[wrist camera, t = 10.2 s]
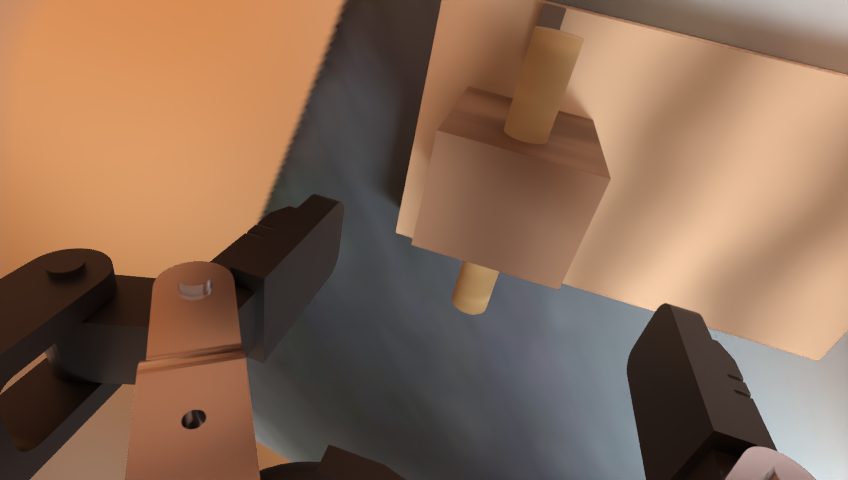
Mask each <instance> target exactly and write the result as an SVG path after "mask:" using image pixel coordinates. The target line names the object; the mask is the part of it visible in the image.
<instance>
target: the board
mask: <svg viewBox="0 0 848 480" xmlns="http://www.w3.org/2000/svg"><path fill="white" fill-rule="evenodd" d="M535 26H541V27H547V28H552V29H556V30H560V31H564V32H567V33H571V34H574V35H577V36H579V37H582V38H584V42H583V45H582V47H581V50H580V53H579V56H578V58H577V61H576V64H575V66H574V69H573V72H572V75H571V77H570V80H569V83H568V86H567V88H566V91H565V94H564V97H563V99H562V102H561V105H560V107H559V110H558V111H562V112H566V113H569V114H573V115H577V116H581V117H584V118H588V119H592V120H593V121H594V125H595V128H596V131H597V135H598V138H599V141H600V144H601V148H602V151H603V154H604V158H605V161H606V164H607V167H608V171H609V174H610V177H611V180H610V182H609V184H608V186H607V189H606V191H605V193H604V195H603V197H602V199H601V201H600V203H599V206H598V208H597V210H596V212H595V214H594V216H593V218H592V221H591V223H590V225H589V227H588V229H587V231H586V233H585V235H584V238H583V240H582V242H581V244H580V246H579V248H578V250H577V253H576V255H575V257H574V259H573V261H572V263H571V265H570V267H569V270H568V272H567V274H566V276H565V278H564V280H563V282H562V283H563V284H566V285H569V286H573V287H576V288H579V289H583V290H586V291H589V292H593V293H596V294H599V295H602V296H606V297H609V298H612V299H616V300H619V301H622V302H625V303H629V304H632V305H635V306H639V307H642V308H645V309H648V310H652V311H655V312H656V310H657V309H658V308H659V306H661V305H662V304H664V303H668V304H671V305H674V306H678V307H681V308H684V309H687V310H691V311H694V312H697V313H699V314H701V316H702V317H703V319H704V322H705V324H706V326H707V327H708V328H711V329H714V330H718V331H721V332H724V333H727V334H731V335H734V336H737V337H741V338H744V339H747V340H751V341H754V342H757V343H760V344H764V345H767V346H770V347H774V348H777V349H780V350H783V351H787V352H790V353H793V354H797V355H800V356H803V357H806V358H810V359H813V360H816V361H819V360H820V359H821V358H822V357H823V356H824V355H825V354H826V353H827V352H828V351H829V350H830V349H831V348H832V347H833V346H834V345H835V343H836V342H837V341H838V340H839V339H840V338H841V337H842V336H843V335H844V334H845V333H846V332H847V331H848V75H847V74H843V73H839V72H835V71H831V70H827V69H823V68H819V67H815V66H811V65H807V64H803V63H799V62H795V61H791V60H787V59H783V58H778V57H774V56H770V55H766V54H762V53H758V52H754V51H750V50H746V49H742V48H738V47H734V46H730V45H726V44H722V43H718V42H714V41H709V40H705V39H701V38H697V37H693V36H689V35H685V34H681V33H677V32H673V31H669V30H665V29H661V28H657V27H653V26H649V25H645V24H640V23H636V22H632V21H628V20H624V19H620V18H616V17H612V16H608V15H604V14H600V13H596V12H592V11H588V10H584V9H580V8H575V7H571V6H567V5H563V4H559V3H555V2H551V1H547V0H442V1H441V6H440V11H439V16H438V21H437V27H436V32H435V37H434V42H433V47H432V52H431V57H430V62H429V67H428V72H427V77H426V82H425V87H424V92H423V97H422V102H421V107H420V112H419V117H418V123H417V128H416V133H415V138H414V143H413V148H412V153H411V158H410V163H409V168H408V173H407V178H406V183H405V188H404V193H403V198H402V203H401V208H400V214H399V219H398V224H397V229H396V233H398V234H402V235H405V236H408V237H411V238H413V235H414V231H415V226H416V222H417V218H418V213H419V209H420V204H421V200H422V195H423V191H424V186H425V182H426V177H427V173H428V169H429V164H430V160H431V155H432V151H433V146H434V142H435V137H436V133H437V130H438V128H439V127H440V125H441V124H442V123H443V121H444V120H445V118H446V117H447V116H448V114H449V113H450V111H451V110H452V109H453V107H454V106H455V104H456V103H457V102H458V100H459V99H460V97H461V96H462V95H463V93H464V92H465V90H466V89H467V88H468V86H469V87H473V88H476V89H480V90H484V91H488V92H491V93H495V94H499V95H502V96H506V97H510V98H513V97H514V93H515V90H516V87H517V84H518V80H519V77H520V74H521V71H522V67H523V64H524V61H525V57H526V54H527V51H528V48H529V44H530V41H531V38H532V35H533V31H534V28H535Z"/></svg>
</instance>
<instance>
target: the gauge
mask: <svg viewBox="0 0 848 480" xmlns="http://www.w3.org/2000/svg"><path fill="white" fill-rule="evenodd" d="M583 42H584V38H582V37H579V36H577V35H574V34H571V33H567V32H564V31H560V30H556V29H552V28H547V27H541V26H535V28H534V31H533V35H532V38H531V41H530V44H529V48H528V51H527V54H526V57H525V61H524V64H523V67H522V71H521V74H520V77H519V80H518V84H517V87H516V90H515V93H514V97H513V98H510V97H506V96H502V95H499V94H495V93H491V92H488V91H484V90H480V89H476V88H473V87H469V86H468V88H467V89H466V90H465V92H464V93H463V95H462V96H461V97H460V99H459V100H458V102H457V103H456V104H455V106H454V107H453V109H452V110H451V111H450V113H449V114H448V116H447V117H446V118H445V120H444V121H443V123H442V124H441V125H440V127H439V128H438V130H437V133H436V137H435V142H434V146H433V151H432V155H431V160H430V164H429V169H428V173H427V177H426V182H425V186H424V191H423V195H422V200H421V204H420V209H419V213H418V218H417V222H416V226H415V231H414V235H413V240H412V244H411V245H414V246H417V247H420V248H424V249H427V250H430V251H433V252H437V253H440V254H443V255H446V256H450V257H453V258H456V259H460V260H463V263H462V266H461V270H460V273H459V276H458V279H457V283H456V286H455V289H454V292H453V296H452V302H453V304H454V305H455V307H456V308H458V309H459V310H460V311H462V312H464V313H467V314H480V313H482V312H484V311H485V309H486V307H487V304H488V301H489V299H490V296H491V293H492V290H493V288H494V285H495V282H496V280H497V277H498V274H499V272H502V273H505V274H509V275H512V276H515V277H518V278H522V279H525V280H528V281H532V282H535V283H538V284H541V285H545V286H548V287H551V288H554V289H558V290H559V289H560V287H561V285H562V282H563V280H564V278H565V276H566V274H567V272H568V270H569V267H570V265H571V263H572V261H573V259H574V257H575V255H576V253H577V250H578V248H579V246H580V244H581V242H582V240H583V238H584V235H585V233H586V231H587V229H588V227H589V225H590V223H591V221H592V218H593V216H594V214H595V212H596V210H597V208H598V206H599V203H600V201H601V199H602V197H603V195H604V193H605V191H606V189H607V186H608V184H609V182H610V180H611V177H610V174H609V171H608V167H607V164H606V161H605V158H604V154H603V151H602V148H601V144H600V141H599V138H598V135H597V131H596V128H595V125H594V121H593V120H592V119H588V118H584V117H581V116H577V115H573V114H569V113H566V112H562V111H558V110H559V107H560V105H561V102H562V99H563V97H564V94H565V91H566V88H567V86H568V83H569V80H570V77H571V75H572V72H573V69H574V66H575V64H576V61H577V58H578V56H579V53H580V50H581V47H582V45H583Z"/></svg>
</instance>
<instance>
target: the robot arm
mask: <svg viewBox="0 0 848 480" xmlns="http://www.w3.org/2000/svg"><path fill="white" fill-rule="evenodd" d="M343 213H344V205H343V203H342V202H339V201H336V200H333V199H330V198H326V197H323V196H320V195H317V194H313V195H311V196H310V197H309V198H308V199H307V200H306V201H305V202H303V203H302V204H301V205H300V206H299V207H298V208H294V207H290V206H288V207H285V208H282V209H279V210H276V211H274V212H271V213H269V214H268V215H267V216H266V217H265V218H263V219H262V220H261V221H260V222H258V225H255V226H254V227H252V228H251V229H250V230H249V231H248V232H247V234H246V233H245V234H244V235H242V236H241V237H240V238H239V239H238V240H236V241H235V242H234V243H233V244H231V245H230V246H229V247H228V248H227V249H225V250H224V251H223V252H222V253H220V254H219V255H218V256H217V257H215V258H214V259H213V260H212V261H210V262H203V261H197V262H196V261H194V262H187V263H182V264H179V265H175V266H173V267H171V268H169V269H167V270H165V271H164V272H162V273H161V274H160V275H159V276H158V277H157V278H145V277H135V276H124V275H115V274H114V269H113V264H112V261H111V259H110V258H109V257H108V256H107V255H106V254H104V253H102V252H99V251H96V250H92V249H66V250H59V251H55V252H52V253H48V254H45V255H42V256H40V257H38V258H36V259H34V260H32V261H30V262H29V263H27V264H25V265H24V266H22V267H20V268H18V269H17V270H15V271H13V272H12V273H10V274H8V275H6V276H5V277H3V278H1V279H0V392H1V390H2V389H3V387H4V386H5V385H6V383H7V382H8V381H9V380H10V379H11V378H12V377H13V376H14V375H15V374H17V373H18V372H19V371H20V370H22V369H23V368H24V367H26V366H27V365H28V364H30V363H31V362H32V361H33V360H35V359H36V358H37V357H38V356H40V355H41V354H42V353H43V352H45V353H46V356H47V358H45V359H44V360H43V361H42V362H41V363H39V364H38V365H37V366H35V367H34V368H33V369H32V370H30V371H29V372H28V373H27V374H25V375H24V376H23V377H22V378H20V379H19V380H18V381H17V382H15V383H14V384H13V385H12V386H11V387H9V388H8V389H7V390H6V391H5V392H3V393H2V394H1V395H0V480H29V479H31V477H33V476H34V474H35V473H36V472H37V471H38V470H39V469H40V468H41V467H42V466H43V465H44V464H45V463H46V462H47V461H48V460H49V459H50V458H51V457H52V456H53V455H54V454H55V453H56V452H57V451H58V450H59V449H60V448H61V447H62V446H63V445H64V444H65V443H66V442H67V441H68V440H69V438H71V437H72V436H73V435H74V434H75V432H76V431H77V430H78V429H79V428H80V427H81V426H82V425H83V424H84V423H85V422H86V421H87V420H88V419H89V418H90V417H91V416H92V415H93V414H94V413H95V412H96V411H97V410H98V409H99V408H100V407H101V406H102V405H103V404H104V403H105V402H106V400H108V399H109V398H110V397H111V396H112V394H114V392H115V391H116V390H117V389H118V388H119V387H120V386H121V385H122V384H135V393H134V401H133V411H132V419H131V429H130V437H129V447H128V455H127V465H126V474H125V480H405V479H404V478H403V477H401V476H400V475H398V474H397V473H395V472H394V471H392V470H391V469H390V468H388V467H387V466H385V465H383V464H380V463H377V462H375V461H372V460H369V459H367V458H364V457H361V456H359V455H356V454H353V453H350V452H348V451H345V450H342V449H340V448H337V447H334V446H332V445H329V446H328V448H327V450H326V452H325V454H324V456H323V458H322V460H321V462H293V463H287V464H280V465H277V466H273V467H269V468H266V469H263V470H260V471H259V465H258V457H257V448H256V440H255V432H254V423H253V415H252V407H251V399H250V390H249V382H248V374H247V365H246V357H248V358H251V359H254V360H257V361H260V362H262V363H264V361H265V360H266V359H267V357H268V356H269V355H270V354H271V352H272V351H273V350H274V348H275V347H276V346H277V344H278V343H279V342H280V340H281V339H282V338H283V337H284V335H285V334H286V333H287V331H288V330H289V329H290V327H291V326H292V325H293V323H294V322H295V321H296V320H297V318H298V317H299V316H300V314H301V313H302V312H303V310H304V309H305V308H306V306H307V305H308V304H309V303H310V301H311V300H312V299H313V297H314V296H315V295H316V293H317V292H318V291H319V290H320V288H321V287H322V286H323V284H324V283H325V282H326V280H327V279H328V278H329V276H330V275H331V273H332V272H333V270H334V267H335V265H336V262H337V259H338V254H339V247H340V238H341V230H342V222H343ZM627 376H628V382H629V387H630V393H631V399H632V404H633V410H634V415H635V421H636V426H637V432H638V437H639V443H640V448H641V454H642V459H643V465H644V471H645V476H646V480H816V479H815V478H814V477H813V476H812V475H811V474H810V473H809V472H808V471H807V470H806V469H804V468H803V467H802V466H801V465H799V464H798V463H796V462H795V461H794V460H792V459H791V458H789V457H787V456H785V455H784V454H782V453H779V452H778V451H777V449H776V447H775V445H774V443H773V441H772V439H771V437H770V434H769V432H768V430H767V428H766V426H765V424H764V422H763V420H762V417H761V415H760V413H759V411H758V409H757V407H756V405H755V403H754V400H753V399H751V398H750V396H751V394H750V392H749V390H748V388H747V386H746V383H744V382H743V377H742V375H741V373H740V371H739V369H738V366H737V364H736V362H735V360H734V359H733V358H732V357H731V356H730V355H729V353H728V352H727V351H726V350H725V349H724V348H723V347H722V345H721V344H720V343H719V342H718V341H715V340H712V338H711V336H710V333H709V331H708V329H707V326H706V324H705V322H704V319H703V317H702V316H701V314H699V313H697V312H694V311H691V310H687V309H684V308H681V307H678V306H674V305H671V304H668V303H664V304H662V305H661V306H659V308H658V309H657V310H656V312H655V313H654V315H653V317H652V318H651V320H650V321H649V323H648V325H647V326H646V328H645V329H644V331H643V332H642V334H641V336H640V337H639V339H638V340H637V342H636V344H635V345H634V347H633V349H632V350H631V353H630V355H629V359H628V364H627Z"/></svg>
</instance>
